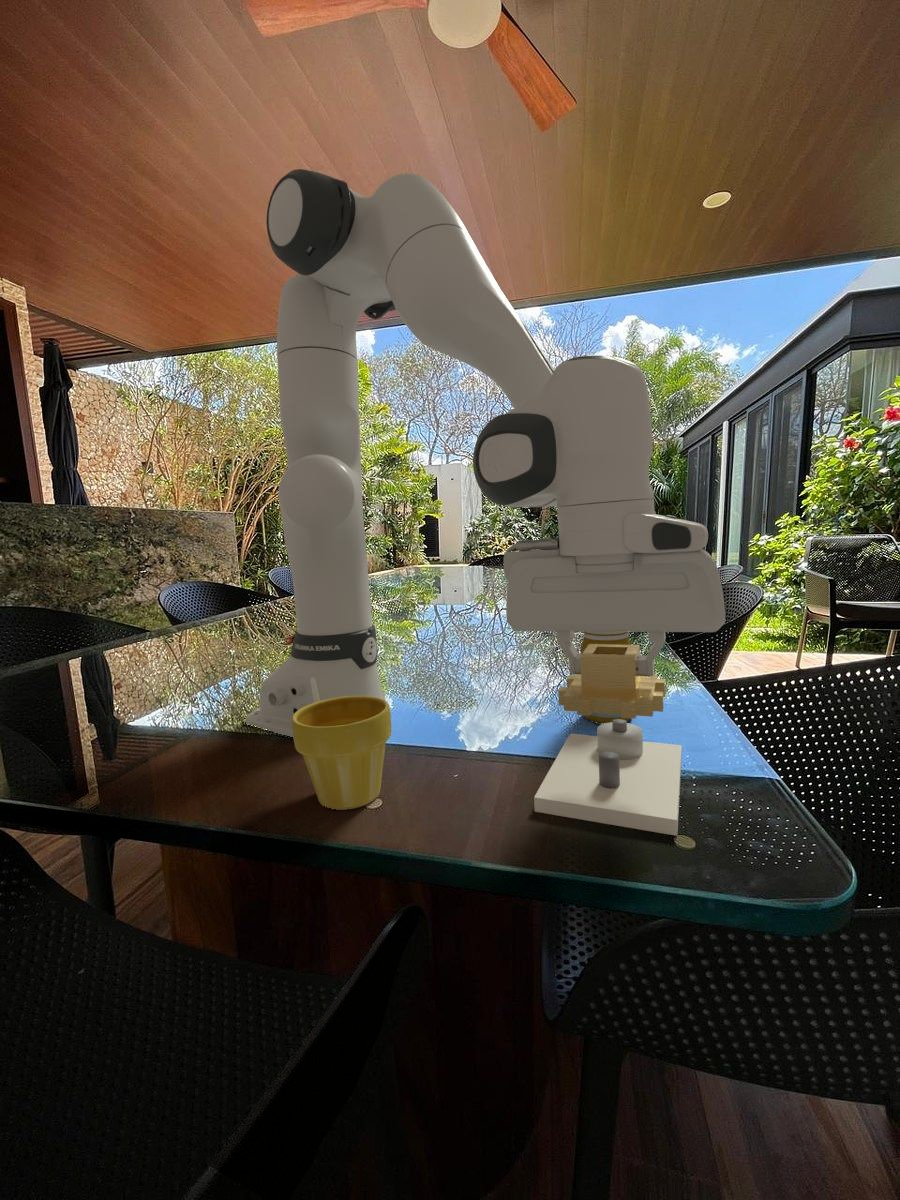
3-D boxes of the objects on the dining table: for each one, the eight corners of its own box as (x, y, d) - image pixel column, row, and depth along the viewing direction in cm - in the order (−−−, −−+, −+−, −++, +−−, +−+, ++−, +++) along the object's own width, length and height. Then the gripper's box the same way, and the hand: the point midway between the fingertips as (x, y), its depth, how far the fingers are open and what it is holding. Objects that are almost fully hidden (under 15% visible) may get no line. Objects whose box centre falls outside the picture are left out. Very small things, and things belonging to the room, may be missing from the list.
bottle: (636, 726, 73) (635, 618, 71) (583, 726, 74) (580, 619, 72) (629, 709, 80) (628, 609, 78) (581, 708, 81) (578, 611, 79)
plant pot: (302, 781, 62) (294, 700, 61) (390, 768, 65) (384, 689, 63) (297, 828, 52) (287, 733, 51) (402, 810, 55) (395, 718, 53)
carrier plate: (534, 811, 53) (532, 763, 52) (570, 744, 68) (569, 706, 68) (677, 835, 48) (677, 782, 47) (681, 757, 63) (681, 716, 62)
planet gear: (553, 713, 51) (550, 662, 50) (573, 682, 60) (571, 638, 59) (661, 720, 47) (660, 665, 46) (666, 686, 56) (664, 639, 55)
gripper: (492, 543, 53) (501, 679, 55) (725, 527, 44) (727, 689, 46) (511, 539, 58) (519, 662, 60) (721, 525, 50) (723, 669, 52)
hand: (611, 674), depth 53 cm, fingers closed on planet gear, 5 cm apart
